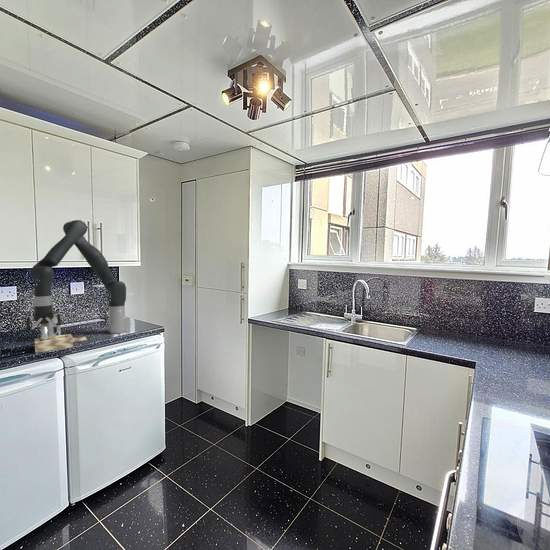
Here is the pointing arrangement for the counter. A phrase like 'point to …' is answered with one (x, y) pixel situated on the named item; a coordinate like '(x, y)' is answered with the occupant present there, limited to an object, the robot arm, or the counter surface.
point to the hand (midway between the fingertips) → (44, 334)
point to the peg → (44, 333)
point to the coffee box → (50, 326)
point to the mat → (79, 339)
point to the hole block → (53, 343)
